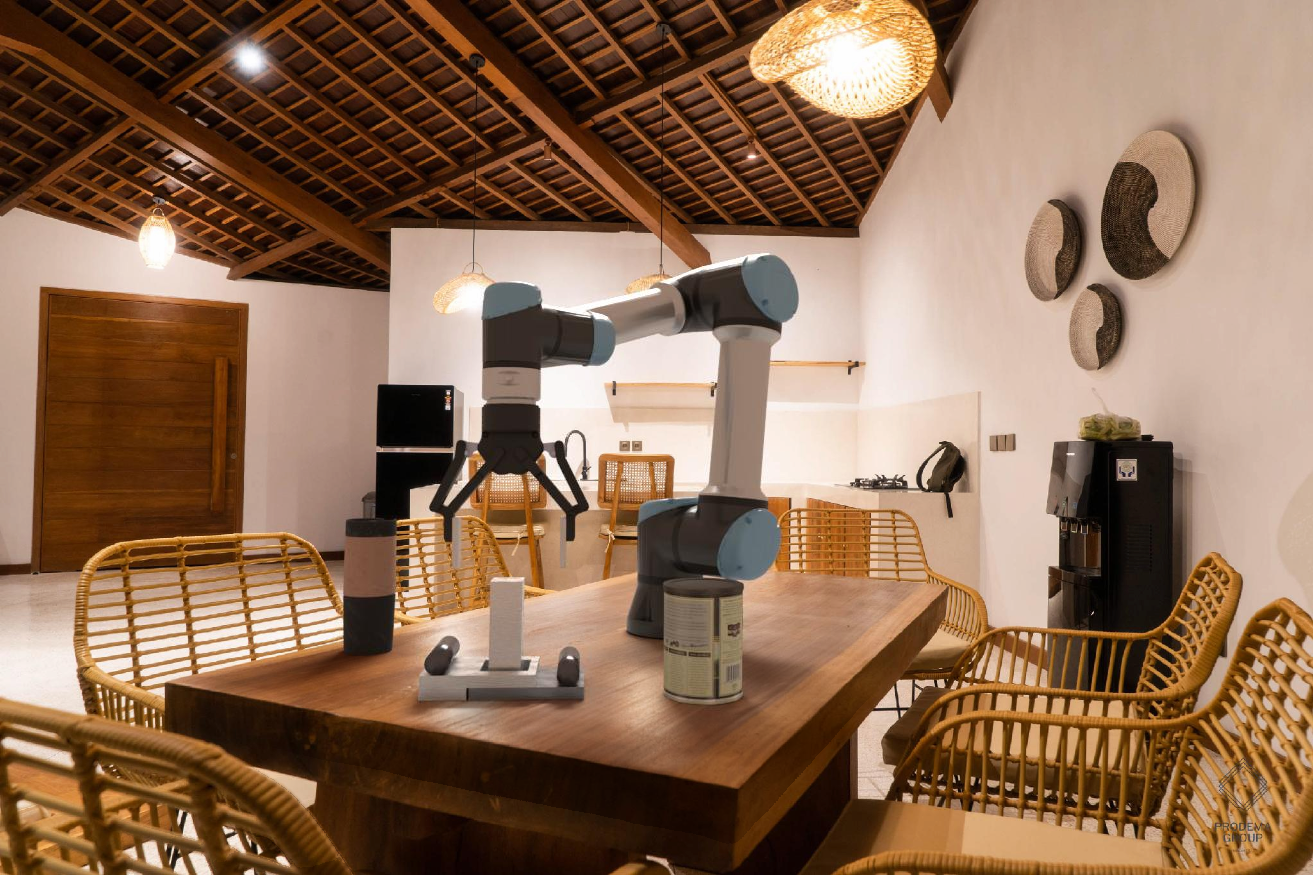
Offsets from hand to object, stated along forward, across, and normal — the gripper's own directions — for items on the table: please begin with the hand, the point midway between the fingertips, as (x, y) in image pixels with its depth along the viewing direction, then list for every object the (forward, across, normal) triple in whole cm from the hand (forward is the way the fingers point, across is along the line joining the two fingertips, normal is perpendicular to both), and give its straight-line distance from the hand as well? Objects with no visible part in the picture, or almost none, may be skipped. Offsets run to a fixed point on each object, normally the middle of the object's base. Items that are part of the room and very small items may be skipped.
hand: (510, 567), depth 106 cm
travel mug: (+16, -23, +23) cm, 36 cm away
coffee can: (+16, +25, -3) cm, 30 cm away
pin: (+16, 0, 0) cm, 16 cm away
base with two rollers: (+15, 0, 0) cm, 15 cm away
